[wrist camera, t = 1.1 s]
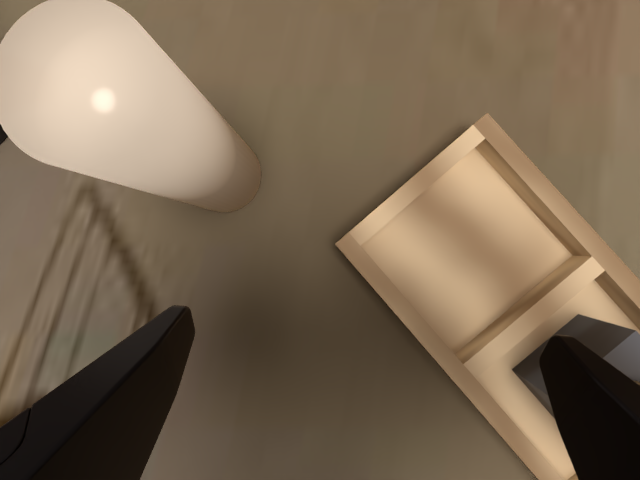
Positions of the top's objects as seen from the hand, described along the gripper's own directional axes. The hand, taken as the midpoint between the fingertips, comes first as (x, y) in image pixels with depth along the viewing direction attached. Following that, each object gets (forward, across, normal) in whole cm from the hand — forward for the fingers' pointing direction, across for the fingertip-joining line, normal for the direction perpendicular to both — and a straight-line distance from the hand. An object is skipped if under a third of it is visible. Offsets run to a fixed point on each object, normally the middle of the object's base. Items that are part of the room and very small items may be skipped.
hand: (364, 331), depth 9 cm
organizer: (+10, -10, +8) cm, 17 cm away
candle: (+14, +8, +2) cm, 17 cm away
